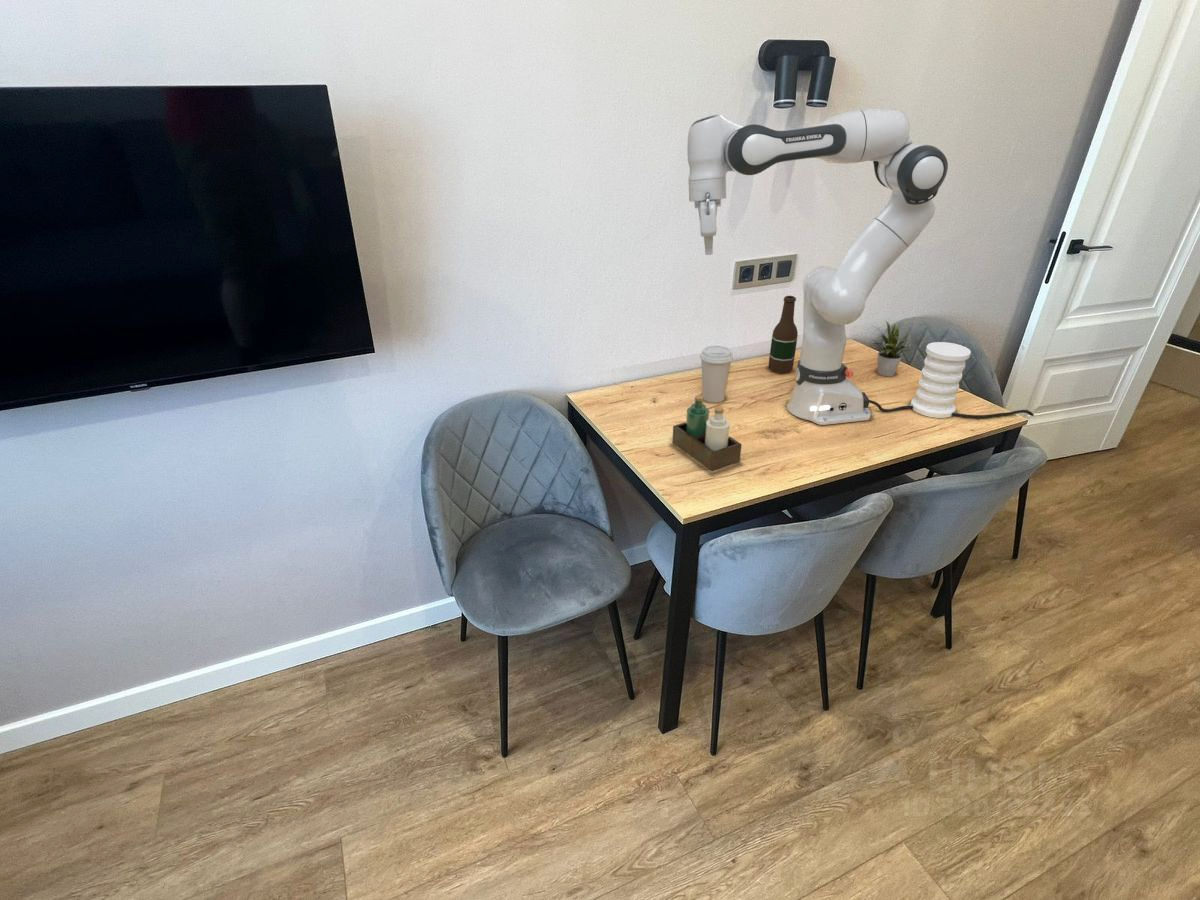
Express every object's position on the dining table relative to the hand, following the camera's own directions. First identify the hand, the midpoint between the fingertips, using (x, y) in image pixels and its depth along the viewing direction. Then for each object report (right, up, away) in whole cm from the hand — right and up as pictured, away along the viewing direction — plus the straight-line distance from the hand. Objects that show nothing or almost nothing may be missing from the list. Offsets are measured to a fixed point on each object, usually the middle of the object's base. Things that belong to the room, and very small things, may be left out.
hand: (708, 252), depth 159 cm
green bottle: (-2, -48, +6) cm, 48 cm away
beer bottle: (+32, -23, +50) cm, 64 cm away
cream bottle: (+2, -51, 0) cm, 51 cm away
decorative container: (+68, -37, +24) cm, 81 cm away
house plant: (+64, -24, +47) cm, 83 cm away
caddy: (0, -50, +3) cm, 50 cm away
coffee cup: (+7, -34, +32) cm, 47 cm away
